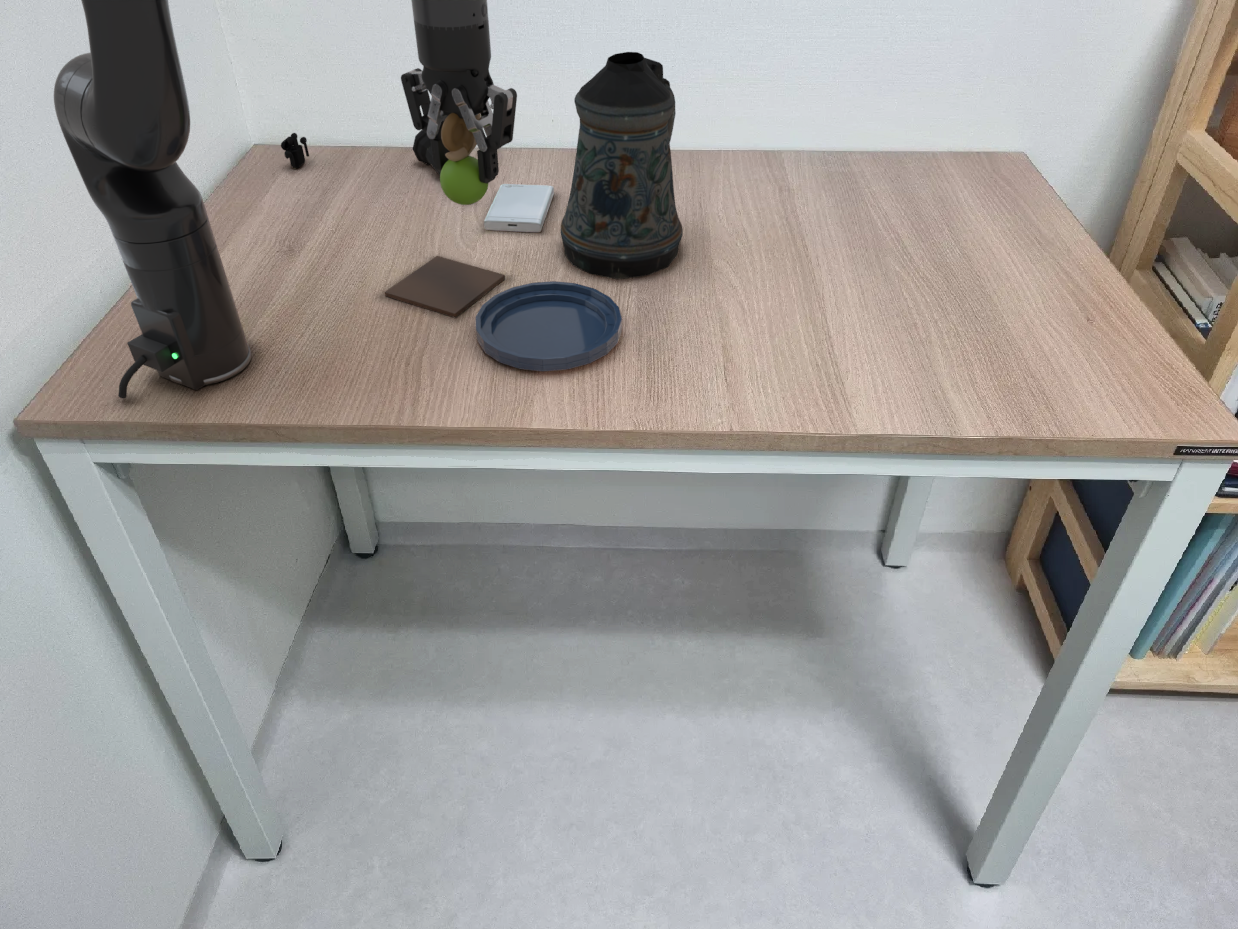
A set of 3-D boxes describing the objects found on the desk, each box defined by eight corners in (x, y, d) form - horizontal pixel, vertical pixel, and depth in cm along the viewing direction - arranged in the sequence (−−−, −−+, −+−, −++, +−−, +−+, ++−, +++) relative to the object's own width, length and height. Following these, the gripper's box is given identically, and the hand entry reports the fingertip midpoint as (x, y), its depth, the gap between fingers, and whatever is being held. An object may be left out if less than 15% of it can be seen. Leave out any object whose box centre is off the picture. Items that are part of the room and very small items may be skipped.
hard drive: (500, 183, 139) (483, 219, 129) (553, 185, 138) (540, 221, 129) (501, 193, 140) (484, 230, 130) (554, 195, 139) (541, 232, 130)
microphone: (482, 218, 140) (436, 157, 152) (491, 183, 137) (443, 123, 148) (449, 215, 137) (404, 153, 148) (458, 180, 133) (411, 119, 145)
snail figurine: (505, 197, 107) (497, 91, 99) (469, 216, 103) (458, 108, 95) (469, 186, 109) (459, 81, 101) (432, 205, 105) (419, 97, 97)
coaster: (455, 317, 113) (455, 313, 112) (385, 296, 117) (384, 291, 116) (505, 278, 120) (505, 274, 120) (437, 259, 124) (436, 255, 124)
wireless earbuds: (293, 175, 145) (286, 143, 142) (279, 173, 145) (271, 142, 142) (312, 157, 150) (306, 127, 147) (298, 156, 150) (291, 125, 147)
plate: (575, 390, 101) (574, 374, 100) (448, 349, 107) (446, 333, 106) (645, 318, 113) (646, 302, 111) (527, 284, 119) (526, 269, 117)
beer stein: (556, 278, 120) (547, 82, 104) (567, 213, 135) (560, 31, 118) (682, 281, 120) (693, 83, 103) (679, 215, 134) (688, 33, 118)
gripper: (371, 11, 93) (395, 173, 104) (486, 33, 88) (499, 201, 99) (418, -5, 98) (436, 151, 109) (530, 15, 93) (538, 177, 104)
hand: (466, 174), depth 104 cm, fingers closed on snail figurine, 5 cm apart
